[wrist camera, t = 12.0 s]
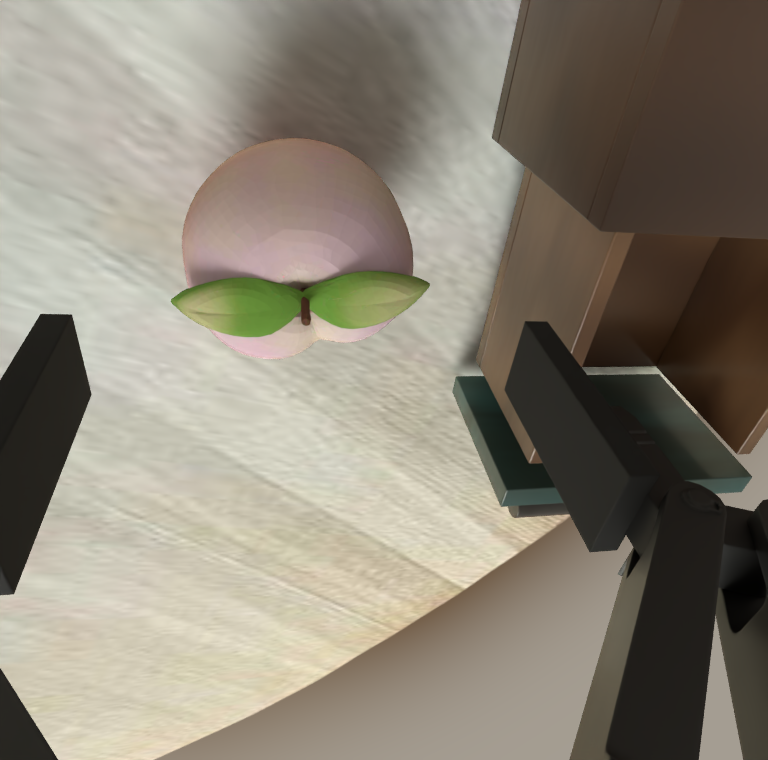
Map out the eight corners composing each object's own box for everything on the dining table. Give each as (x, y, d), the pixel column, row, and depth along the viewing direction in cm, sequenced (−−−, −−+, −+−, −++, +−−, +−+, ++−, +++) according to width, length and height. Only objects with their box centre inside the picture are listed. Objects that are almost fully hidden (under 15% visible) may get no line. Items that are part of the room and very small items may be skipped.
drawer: (621, 448, 40) (696, 555, 33) (436, 456, 37) (476, 573, 30) (789, 114, 27) (970, 175, 20) (523, 87, 24) (628, 147, 17)
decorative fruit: (373, 87, 24) (427, 158, 16) (401, 259, 29) (451, 376, 21) (156, 136, 24) (105, 231, 16) (222, 301, 29) (208, 434, 21)
